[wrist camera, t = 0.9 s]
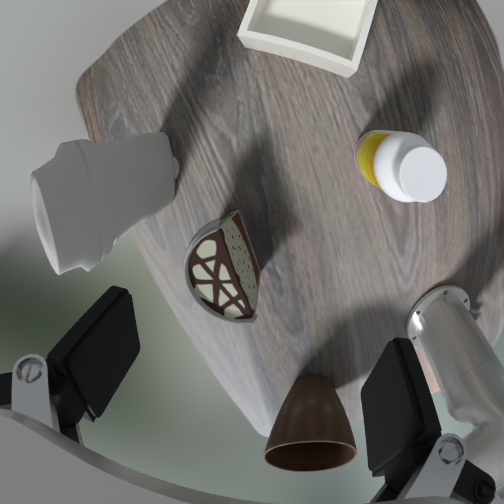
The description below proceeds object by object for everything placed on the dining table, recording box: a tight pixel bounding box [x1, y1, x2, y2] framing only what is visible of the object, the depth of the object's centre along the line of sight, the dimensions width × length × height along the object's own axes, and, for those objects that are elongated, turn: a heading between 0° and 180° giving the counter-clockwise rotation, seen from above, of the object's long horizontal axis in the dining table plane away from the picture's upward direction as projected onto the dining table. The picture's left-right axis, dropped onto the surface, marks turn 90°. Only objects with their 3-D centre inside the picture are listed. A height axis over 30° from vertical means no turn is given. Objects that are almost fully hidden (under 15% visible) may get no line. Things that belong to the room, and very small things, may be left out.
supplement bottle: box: [354, 130, 447, 202], centre depth 24 cm, size 7×7×13 cm
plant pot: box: [263, 375, 357, 472], centre depth 41 cm, size 15×15×16 cm
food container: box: [184, 209, 261, 324], centre depth 33 cm, size 12×6×10 cm, turn 18°
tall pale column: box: [31, 132, 179, 275], centre depth 24 cm, size 11×4×22 cm, turn 3°
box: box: [237, 0, 378, 78], centre depth 21 cm, size 13×13×5 cm
